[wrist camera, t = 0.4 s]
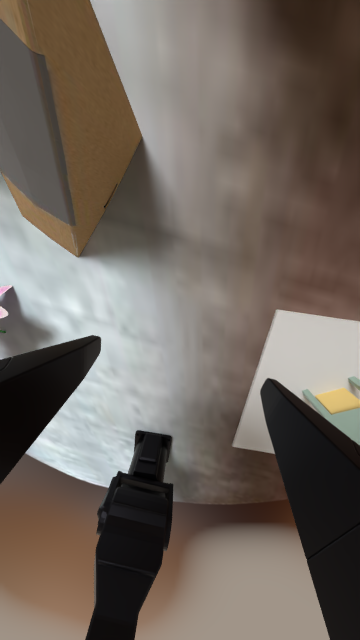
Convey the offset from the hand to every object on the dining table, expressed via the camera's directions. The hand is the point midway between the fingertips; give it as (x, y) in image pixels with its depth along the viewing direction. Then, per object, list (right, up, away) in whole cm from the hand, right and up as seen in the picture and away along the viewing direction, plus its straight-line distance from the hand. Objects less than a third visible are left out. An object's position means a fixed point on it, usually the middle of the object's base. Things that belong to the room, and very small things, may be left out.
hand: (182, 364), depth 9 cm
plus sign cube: (+23, -10, +16) cm, 30 cm away
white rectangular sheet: (+21, -9, +17) cm, 28 cm away
